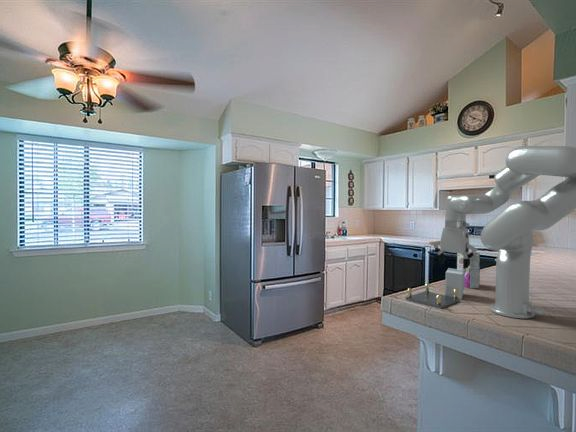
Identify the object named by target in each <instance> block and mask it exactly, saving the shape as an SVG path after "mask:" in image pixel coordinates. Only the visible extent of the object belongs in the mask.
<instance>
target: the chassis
mask: <svg viewBox="0 0 576 432" xmlns="http://www.w3.org/2000/svg"><path fill="white" fill-rule="evenodd" d="M412 289H413V288H411V287H408V288H407V296H406V297H405V300H406V301H409V302H413V303H416V302H417V304H421V305H424V306H429V307H433V308H437V309H440V310H442V309H445V308H447V307H449V306H452V305H455V304H457V303H459V302H461V300H460V299H459V298H458V289H454V297H450V296H445V294H439V293H435V292H431V291H430V283H427V282H425V291H422V292H417V293H415V294H412V292H413V291H412Z"/></svg>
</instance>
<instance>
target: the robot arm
mask: <svg viewBox="0 0 576 432" xmlns="http://www.w3.org/2000/svg"><path fill="white" fill-rule="evenodd" d="M539 176H551V177H562V178H563V177H564V178H566V179H564V180H562V181H561V182H559V183H558V184H555V185H554V186H552V187H551V188H550V189H549V190H547V192H545V193H544V194H543V195H541V196H540V197H538V198H536V199H533V200H520V201H517V202H514V203H511V204H509V205H508V206H507V207H505V208H504V209H503V210H501V212H500V213H499V214H497V215H496V216H495V217H493V219H491V220H490V221H489V222H488V223H486V224H485V225H484V227H483V228H482V230H481V233H480V242H481V243H482V245H483V246H484V247H485V248H486V249H489V250H492V251H498V253H497V256H496V261H495V263H496V264H495V295H494V296H495V299H494V301H495V303H493V304H490V306H489V310H490V311H491V312H492V313H495V314H497V315H500V316H504V317H508V318H512V319H513V318H514V319H532V318H534V317H535V315H536V314H537V315H542V316H545V314H546V309H544V308H543V307H539V306H535V305H534V304H533V302H532V301H530V278H531V277H530V276H531V274H530V273H531V271H530V270H531V256H532V250H533V246H534V240H535V238H534V237H535V235H534V232H536V231H545V230H548V229H550V228H552V227H553V226H554V225H556V224H557V223H558V222H560V221H561V220H562V219H564V218H566V216H568V215H569V214H571V213H572V212H574V211H575V210H576V146H572V145H571V146H568V145H522V146H521V145H520V146H517V147H516V148H514V149H512V150H510V152H509V153H508V154H507V156H506V158H505V166H504V167H503V168H501V170H499V171H498V172H496V173H495V175H494V177H493V178H494V179H493V180H494V182H495V184H496V185H495V186H494V187H493V188H492V189H490V190H489V191H487V192H485V194H464V195H460V194H459V195H458V194H457V195H452V194H451V195H447V197H446V199H445V217H444V218H445V220H444V227H443V228H442V232H441V236H440V240H439V241H437V242H435V243H432V246H433V247H434V250H435V252H436V253H437V255H438V262H439V263H438V264H439V265H443V264H445V259H446V258H445V256H446V255H445V253H446V252H447V253H454V254H457V253H462V255H463V256H464V257H465V259H463V268H464V269H466V268H468V267H469V261H470V258H471V257H472V256H474V255H475V253H476V252H477V251H478V248H477V247H475V246H474V245H471V244H470V235H469V229H468V228H469V227H470V223H468V222H467V220H466V219H467V215H484V214H489V213H491V212H494V211H495V210H497V209H498V208H500V207H501V206H503V205H505V204H506V203H507V202H508V201H509V200H510V199H511V197H512V196H513V195H514V193H515V192H516V191H517V190H519V189H521V187H523V186H525V185H527V184H528V183H529V182H531V181H533V180H534V179H536V178H537V177H539ZM467 227H468V228H467ZM439 246H440V247H439ZM469 250H470V251H471V253H470V254H469V253H468V252H469Z"/></svg>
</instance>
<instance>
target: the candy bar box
mask: <svg viewBox="0 0 576 432" xmlns="http://www.w3.org/2000/svg"><path fill="white" fill-rule="evenodd" d="M471 251H472V250H471V249H469V252H468V253H469V254H470V253H471ZM456 257H457V258H456V269H459V270H464V288H465V287H466V288H468V289H470V290H471V289H472V290H473V289H480V282H481V281H480V280H481V279H480V275H481V274H480V271H481V266H480V265H481V264H480V263H481V261H480V260H481V259H480V258H481V254H480V252H479V251H478V252H477V251H476V253H475V255H474V256H472V257H471V258H470V261H469V267H468V268H466V269H464V268H463V259H465V257H464V256H463V255H462V253H456Z"/></svg>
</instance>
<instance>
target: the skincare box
mask: <svg viewBox="0 0 576 432" xmlns="http://www.w3.org/2000/svg"><path fill="white" fill-rule="evenodd" d="M454 289H458V298H459V299H460V301H461V300H462V298H463V295H464V289H465V286H464V270H459V269H457V268H452V267H451V268H450V267H448V268H447V270H446V271H445V282H444V295H445V296H450V297H454Z"/></svg>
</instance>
